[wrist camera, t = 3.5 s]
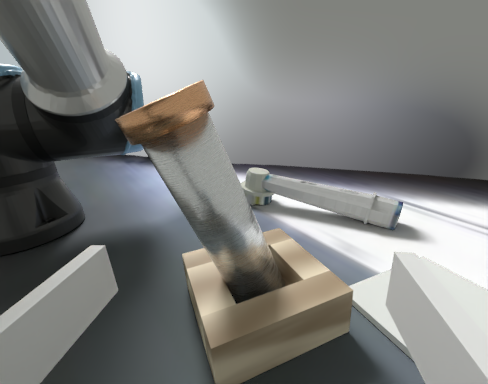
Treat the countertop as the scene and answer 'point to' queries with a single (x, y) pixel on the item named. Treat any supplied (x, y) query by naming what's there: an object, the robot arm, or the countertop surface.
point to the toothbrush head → (322, 197)
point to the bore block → (266, 312)
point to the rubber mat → (463, 290)
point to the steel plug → (205, 186)
